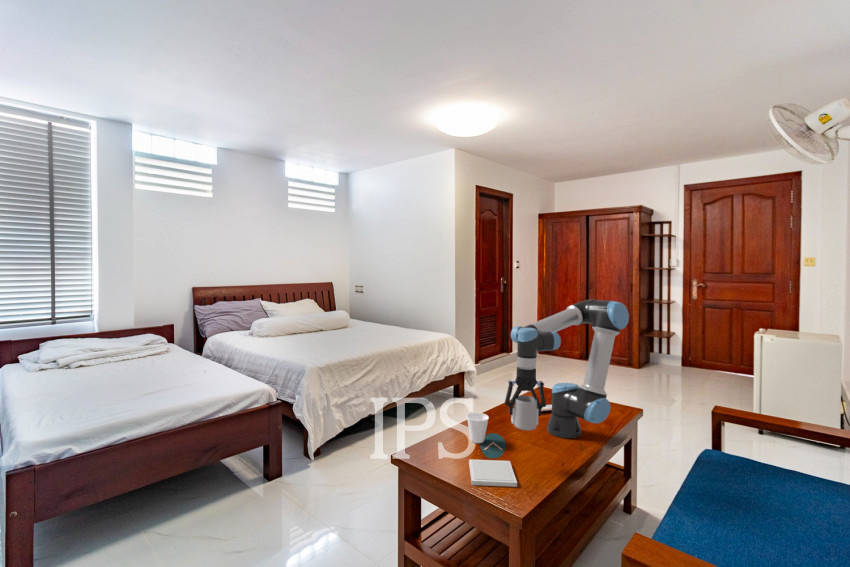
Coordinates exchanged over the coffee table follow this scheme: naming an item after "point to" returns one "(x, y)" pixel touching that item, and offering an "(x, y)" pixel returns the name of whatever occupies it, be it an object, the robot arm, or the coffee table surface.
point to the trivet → (492, 473)
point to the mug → (525, 412)
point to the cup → (477, 426)
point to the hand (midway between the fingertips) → (524, 423)
